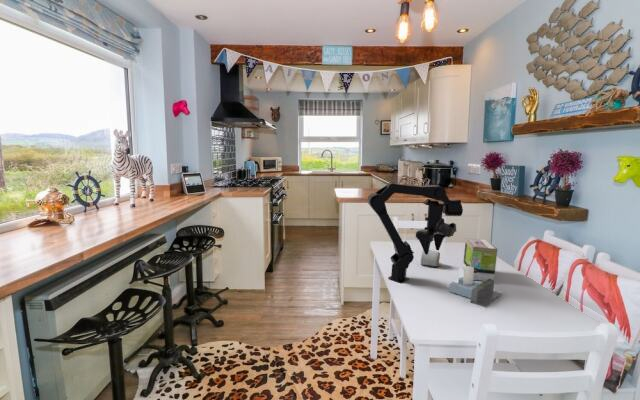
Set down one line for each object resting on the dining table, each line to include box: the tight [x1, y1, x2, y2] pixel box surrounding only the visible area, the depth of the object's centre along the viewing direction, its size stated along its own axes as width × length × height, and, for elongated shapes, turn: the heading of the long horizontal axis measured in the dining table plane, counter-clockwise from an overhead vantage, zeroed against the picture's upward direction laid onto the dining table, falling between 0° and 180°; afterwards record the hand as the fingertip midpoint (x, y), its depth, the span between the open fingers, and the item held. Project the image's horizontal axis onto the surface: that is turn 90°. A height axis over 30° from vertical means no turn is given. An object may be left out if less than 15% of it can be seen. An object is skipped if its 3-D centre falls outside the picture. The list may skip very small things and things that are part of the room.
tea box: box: [462, 238, 498, 282], centre depth 151 cm, size 15×10×15 cm, turn 168°
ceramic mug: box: [420, 249, 441, 268], centre depth 164 cm, size 11×8×8 cm
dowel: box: [462, 266, 474, 287], centre depth 132 cm, size 3×3×10 cm
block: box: [449, 277, 482, 299], centre depth 132 cm, size 10×10×3 cm
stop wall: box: [470, 279, 503, 308], centre depth 127 cm, size 16×5×5 cm, turn 134°
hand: (432, 252), depth 143 cm, fingers open, 9 cm apart
